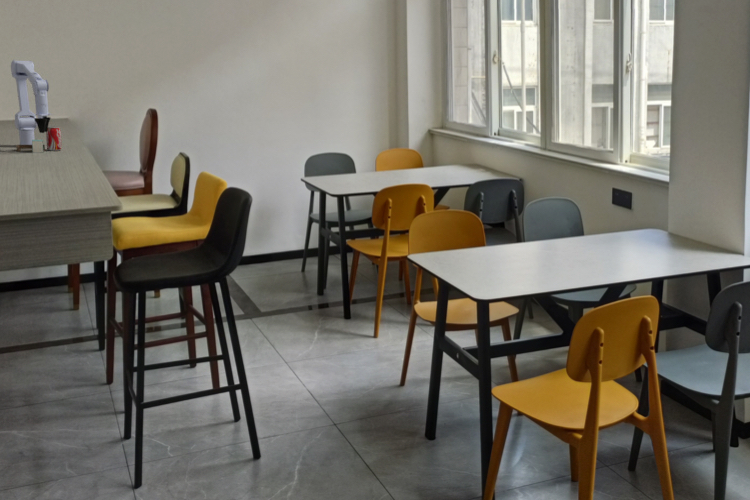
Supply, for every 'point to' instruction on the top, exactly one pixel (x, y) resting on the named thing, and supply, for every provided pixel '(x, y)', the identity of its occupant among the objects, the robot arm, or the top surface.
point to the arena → (26, 147)
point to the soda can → (53, 138)
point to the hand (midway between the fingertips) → (43, 132)
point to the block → (37, 146)
